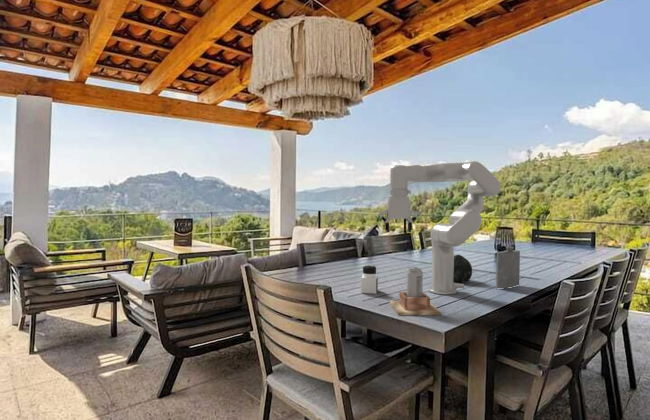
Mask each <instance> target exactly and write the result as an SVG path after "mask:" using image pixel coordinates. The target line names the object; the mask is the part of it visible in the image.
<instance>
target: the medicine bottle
mask: <svg viewBox="0 0 650 420" xmlns="http://www.w3.org/2000/svg"><path fill="white" fill-rule="evenodd" d="M378 276H379V275H377V266H375V265H372V264H371V265H369V264H368V265H364V266H363V267H362V276H361V277H360V293H361V294H371V295H372V294H374V295H375V294H376V295H377V293H378V289H379V288H378V286H379V283H378V281H379V277H378Z"/></svg>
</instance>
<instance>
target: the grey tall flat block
mask: <svg viewBox="0 0 650 420" xmlns="http://www.w3.org/2000/svg"><path fill="white" fill-rule="evenodd" d="M520 261H521V250H518V249H517V250H516V249H515V247H514V246H511V245H510V246H507V245H506V246H505V250H502V251H497V252H496V277H495V278H496V282H495V283H496V285H495V287H496V288H508V287H513V286H516V285H519V286H520V265H521V263H520Z"/></svg>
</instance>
